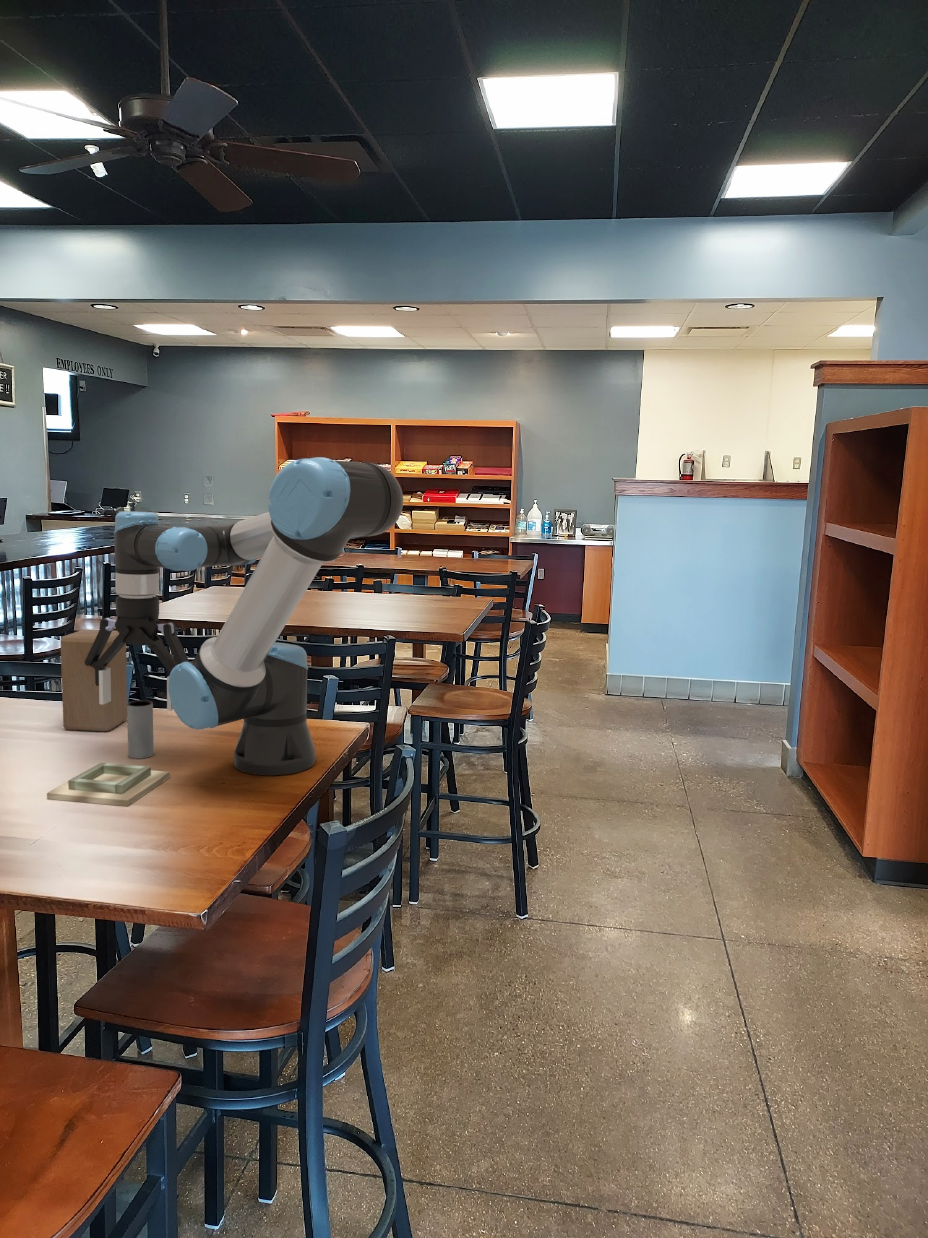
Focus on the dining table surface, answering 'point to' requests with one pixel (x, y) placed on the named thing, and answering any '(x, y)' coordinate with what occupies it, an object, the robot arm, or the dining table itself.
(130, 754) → the grey hollow tube
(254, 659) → the robot arm
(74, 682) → the block
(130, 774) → the stand
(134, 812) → the dining table surface
